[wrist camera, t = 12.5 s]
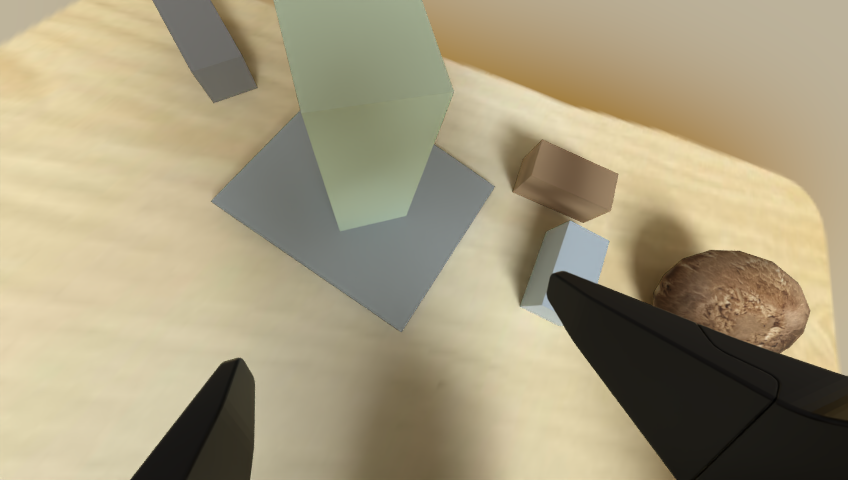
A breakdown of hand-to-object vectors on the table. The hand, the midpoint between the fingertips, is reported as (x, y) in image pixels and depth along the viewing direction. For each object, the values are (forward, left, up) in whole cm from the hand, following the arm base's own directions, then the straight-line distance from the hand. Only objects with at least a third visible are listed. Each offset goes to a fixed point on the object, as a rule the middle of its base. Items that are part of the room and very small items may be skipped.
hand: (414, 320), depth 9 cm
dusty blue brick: (-8, -9, -11) cm, 16 cm away
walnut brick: (-5, -15, -11) cm, 19 cm away
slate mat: (+6, -6, -11) cm, 14 cm away
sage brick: (+6, -6, -11) cm, 13 cm away
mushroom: (-18, -13, -11) cm, 25 cm away
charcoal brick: (+20, -8, -11) cm, 24 cm away
